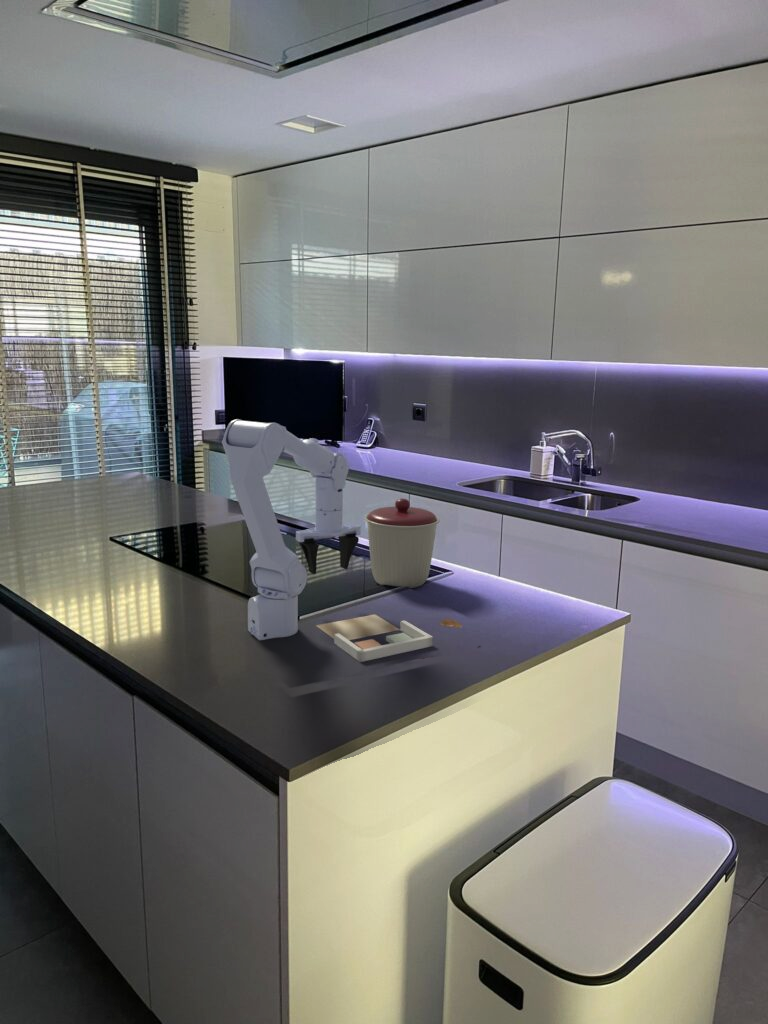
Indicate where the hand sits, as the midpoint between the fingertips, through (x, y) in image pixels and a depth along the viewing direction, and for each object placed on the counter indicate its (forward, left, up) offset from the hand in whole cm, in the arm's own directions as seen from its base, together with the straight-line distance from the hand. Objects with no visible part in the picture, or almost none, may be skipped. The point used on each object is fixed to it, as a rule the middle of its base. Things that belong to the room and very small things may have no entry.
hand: (328, 570), depth 167 cm
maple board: (0, -14, -9) cm, 17 cm away
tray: (0, -24, -9) cm, 25 cm away
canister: (+25, +10, -10) cm, 29 cm away
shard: (+18, -18, -10) cm, 27 cm away
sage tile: (+3, -25, -9) cm, 26 cm away
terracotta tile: (-4, -25, -9) cm, 26 cm away
